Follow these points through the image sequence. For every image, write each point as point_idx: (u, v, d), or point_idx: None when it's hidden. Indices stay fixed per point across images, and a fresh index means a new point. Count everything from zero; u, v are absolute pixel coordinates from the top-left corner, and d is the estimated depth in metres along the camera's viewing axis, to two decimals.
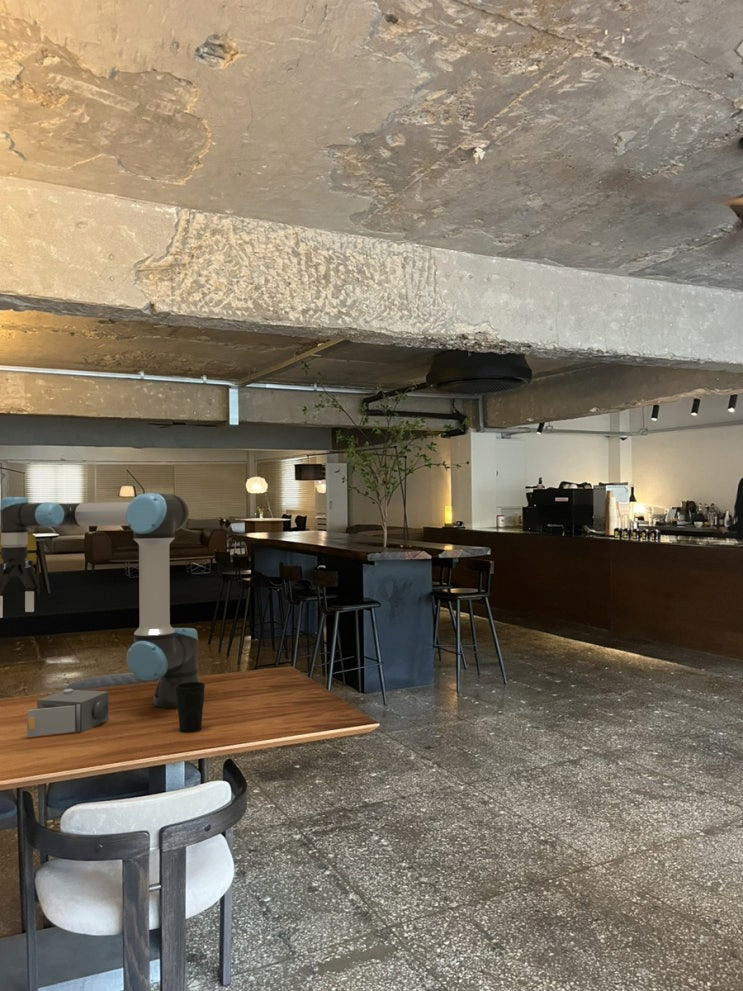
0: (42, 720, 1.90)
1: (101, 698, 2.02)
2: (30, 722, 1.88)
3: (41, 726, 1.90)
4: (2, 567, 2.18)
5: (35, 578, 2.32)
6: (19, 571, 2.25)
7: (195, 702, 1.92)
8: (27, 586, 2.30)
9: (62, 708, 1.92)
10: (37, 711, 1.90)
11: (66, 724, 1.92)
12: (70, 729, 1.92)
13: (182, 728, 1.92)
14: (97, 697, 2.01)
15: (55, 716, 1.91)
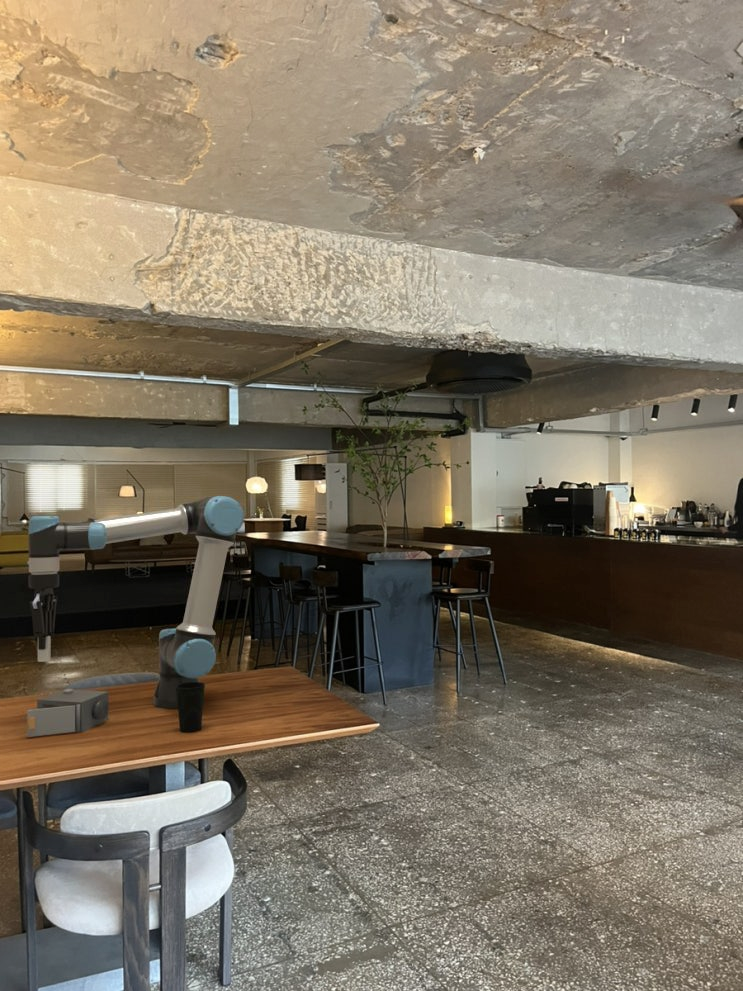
0: (42, 720, 1.90)
1: (101, 698, 2.02)
2: (30, 722, 1.88)
3: (41, 726, 1.90)
4: (40, 605, 1.89)
5: (54, 618, 1.98)
6: (49, 601, 1.95)
7: (195, 702, 1.92)
8: None
9: (62, 708, 1.92)
10: (37, 711, 1.90)
11: (66, 724, 1.92)
12: (70, 729, 1.92)
13: (182, 728, 1.92)
14: (97, 697, 2.01)
15: (55, 716, 1.91)
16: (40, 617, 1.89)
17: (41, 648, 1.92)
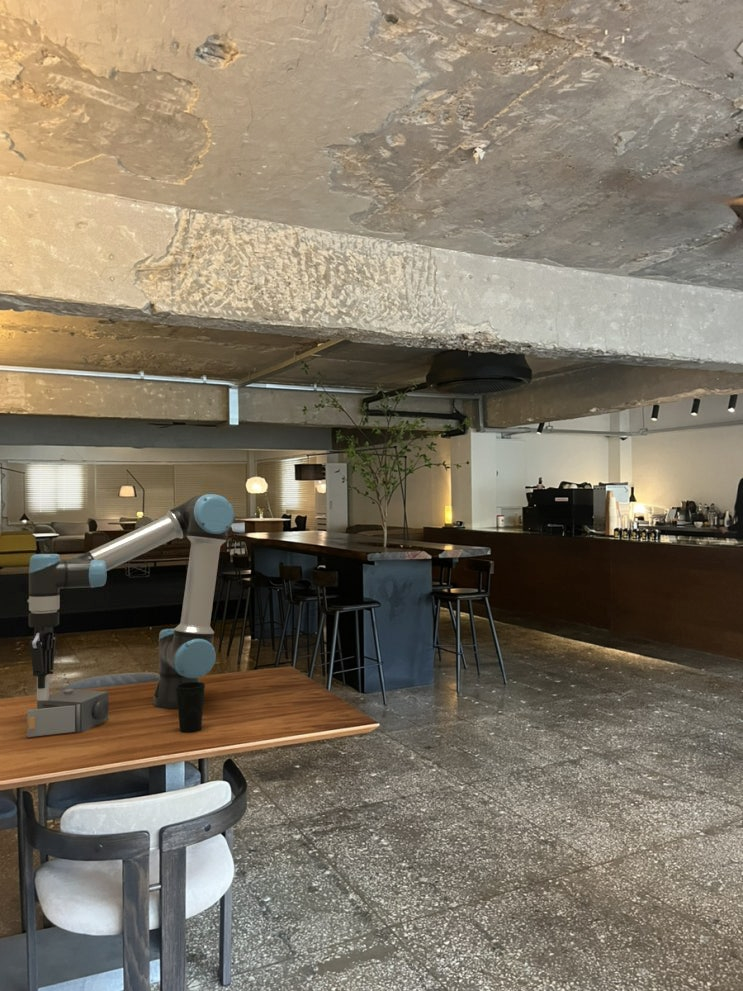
0: (42, 720, 1.90)
1: (101, 698, 2.02)
2: (30, 722, 1.88)
3: (41, 726, 1.90)
4: (40, 645, 1.88)
5: (53, 656, 1.97)
6: (49, 640, 1.95)
7: (195, 702, 1.92)
8: None
9: (62, 708, 1.92)
10: (37, 711, 1.90)
11: (66, 724, 1.92)
12: (70, 729, 1.92)
13: (182, 728, 1.92)
14: (97, 697, 2.01)
15: (55, 716, 1.91)
16: (40, 657, 1.89)
17: (40, 687, 1.91)
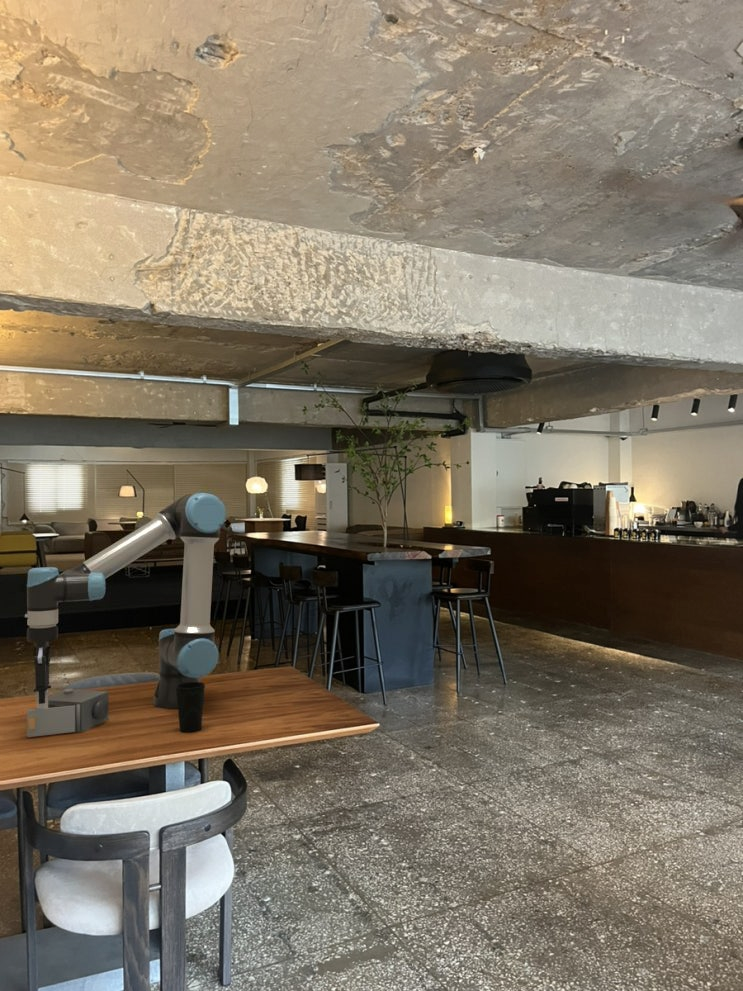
0: (42, 721, 1.90)
1: (101, 698, 2.02)
2: (30, 722, 1.88)
3: (41, 726, 1.90)
4: (45, 659, 1.87)
5: (48, 670, 1.95)
6: None
7: (195, 702, 1.92)
8: None
9: (62, 708, 1.92)
10: (37, 711, 1.89)
11: (66, 725, 1.92)
12: (70, 729, 1.92)
13: (182, 728, 1.92)
14: (97, 697, 2.01)
15: (55, 716, 1.91)
16: (44, 671, 1.87)
17: (41, 702, 1.90)
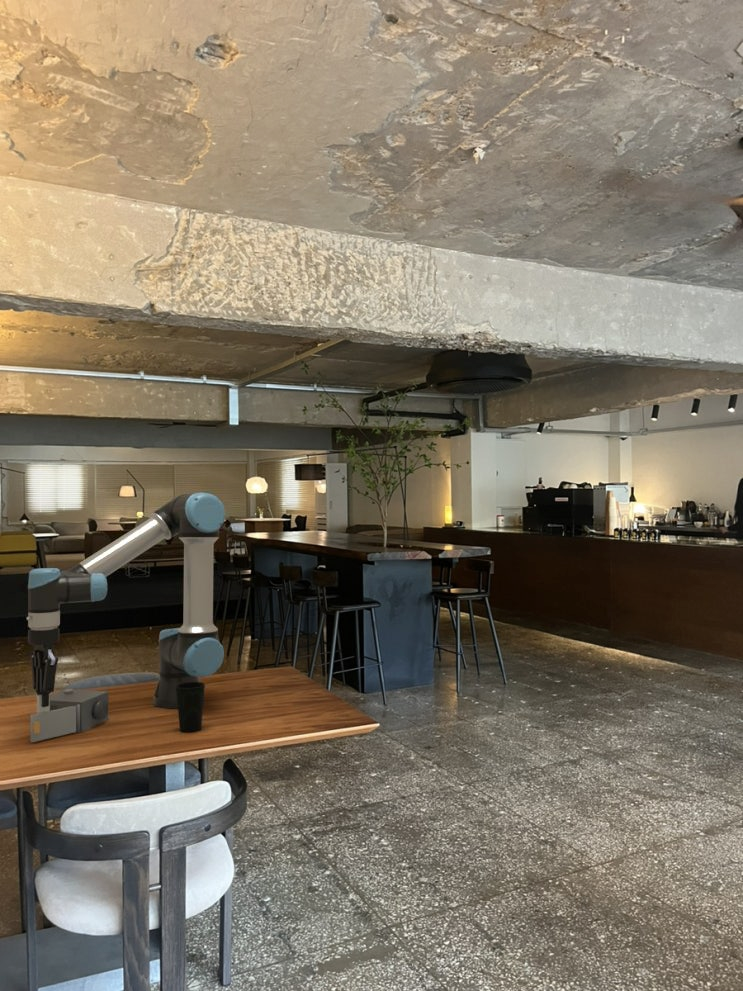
0: (46, 724, 1.87)
1: (101, 698, 2.02)
2: (35, 727, 1.84)
3: (44, 730, 1.86)
4: None
5: None
6: None
7: (195, 702, 1.92)
8: None
9: (64, 709, 1.90)
10: (41, 714, 1.86)
11: (68, 726, 1.91)
12: (72, 729, 1.92)
13: (182, 728, 1.92)
14: (97, 697, 2.01)
15: (58, 718, 1.89)
16: (54, 673, 1.85)
17: (46, 705, 1.86)
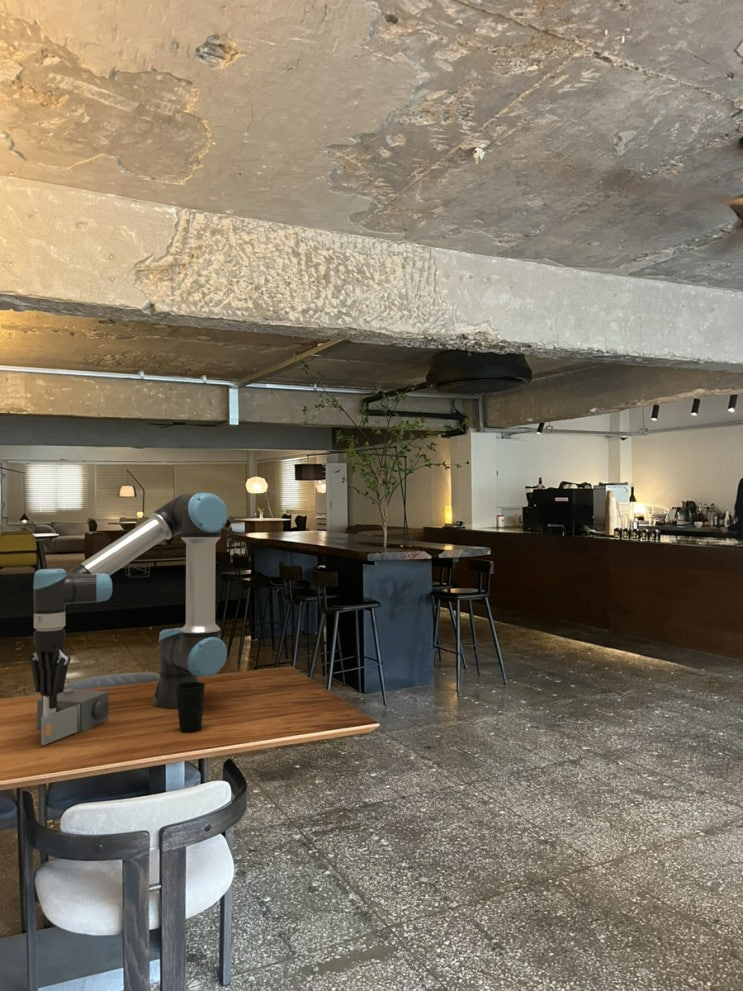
0: (54, 726, 1.85)
1: (101, 698, 2.02)
2: (47, 729, 1.82)
3: (53, 731, 1.85)
4: None
5: None
6: None
7: (195, 702, 1.92)
8: (46, 685, 1.86)
9: (68, 710, 1.90)
10: (51, 716, 1.84)
11: (71, 726, 1.91)
12: (74, 729, 1.91)
13: (182, 728, 1.92)
14: (97, 697, 2.01)
15: (64, 719, 1.88)
16: (65, 673, 1.85)
17: (54, 706, 1.85)
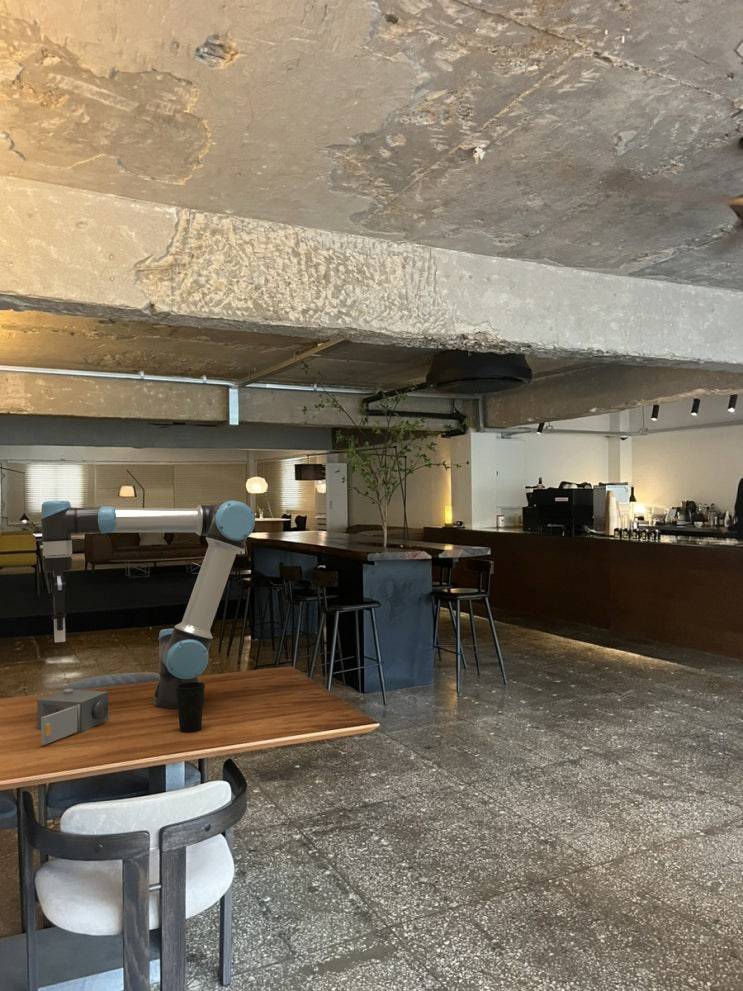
0: (54, 726, 1.85)
1: (101, 698, 2.02)
2: (47, 729, 1.82)
3: (53, 731, 1.85)
4: None
5: None
6: None
7: (195, 702, 1.92)
8: None
9: (68, 710, 1.90)
10: (51, 716, 1.84)
11: (71, 726, 1.91)
12: (74, 729, 1.91)
13: (182, 728, 1.92)
14: (97, 697, 2.01)
15: (64, 719, 1.88)
16: (63, 598, 1.96)
17: (60, 629, 1.98)
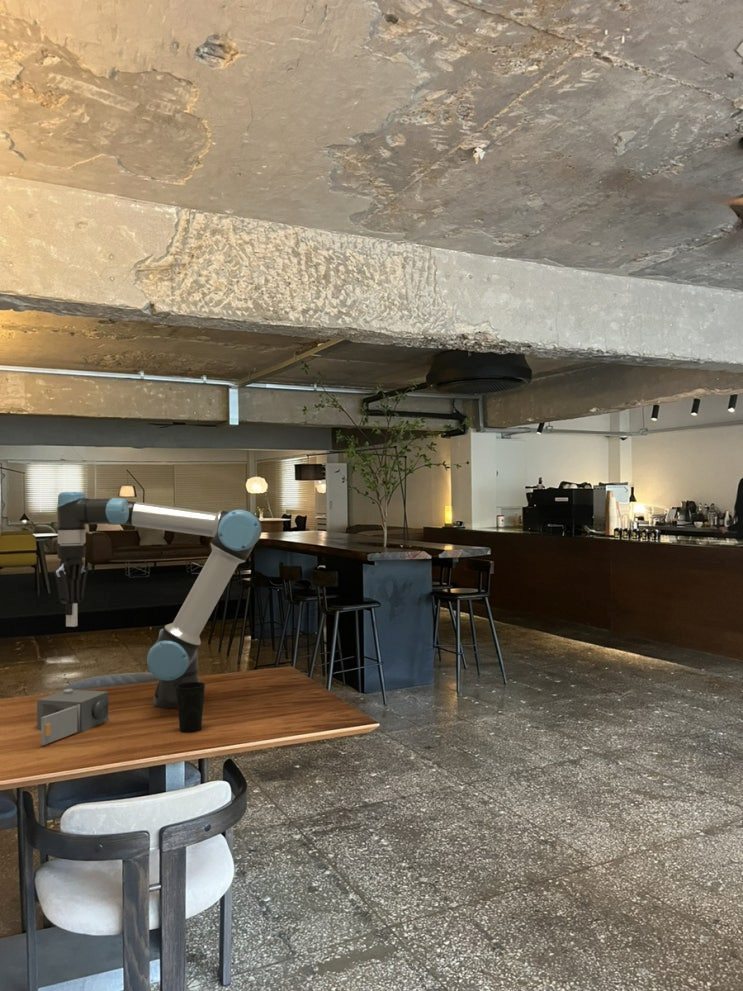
0: (54, 726, 1.85)
1: (101, 698, 2.02)
2: (47, 729, 1.82)
3: (53, 731, 1.85)
4: (63, 574, 2.04)
5: (83, 587, 2.13)
6: (77, 571, 2.10)
7: (195, 702, 1.92)
8: None
9: (68, 710, 1.90)
10: (51, 716, 1.84)
11: (71, 726, 1.91)
12: (74, 729, 1.91)
13: (182, 728, 1.92)
14: (97, 697, 2.01)
15: (64, 719, 1.88)
16: (63, 585, 2.05)
17: (67, 614, 2.07)
